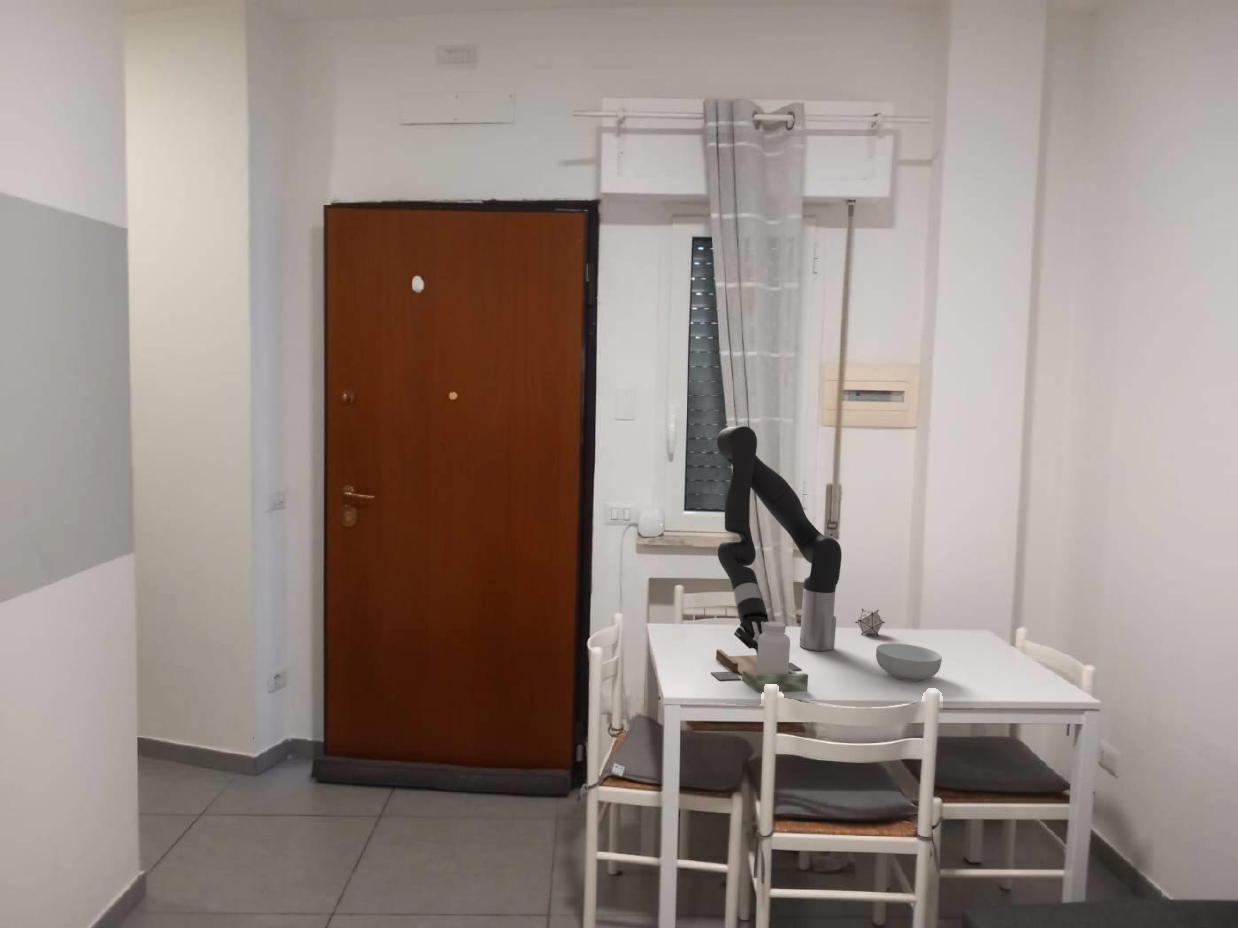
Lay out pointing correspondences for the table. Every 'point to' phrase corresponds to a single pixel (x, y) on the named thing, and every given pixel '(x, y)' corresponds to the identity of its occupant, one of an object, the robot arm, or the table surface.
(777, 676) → the lane
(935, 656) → the cereal bowl
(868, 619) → the spiked polyhedron ball
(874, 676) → the table surface
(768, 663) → the pill bottle
